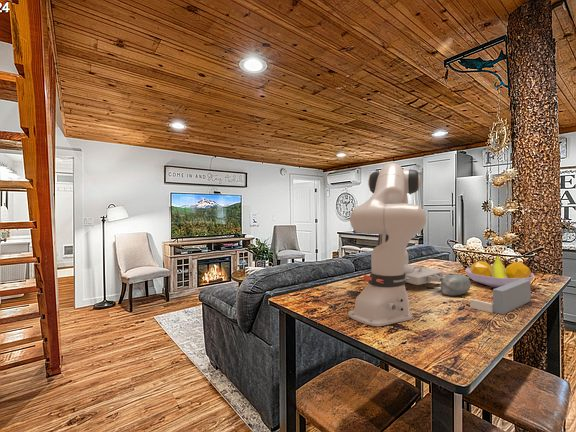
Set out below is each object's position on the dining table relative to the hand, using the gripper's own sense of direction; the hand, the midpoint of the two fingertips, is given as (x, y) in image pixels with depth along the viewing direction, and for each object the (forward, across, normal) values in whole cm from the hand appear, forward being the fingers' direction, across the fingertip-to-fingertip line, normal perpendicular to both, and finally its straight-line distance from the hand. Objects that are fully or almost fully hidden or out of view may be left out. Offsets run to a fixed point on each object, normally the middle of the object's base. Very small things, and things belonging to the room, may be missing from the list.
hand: (441, 279), depth 128 cm
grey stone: (+6, 0, +5) cm, 8 cm away
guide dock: (+23, 0, +5) cm, 23 cm away
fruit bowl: (+10, +31, +5) cm, 33 cm away
